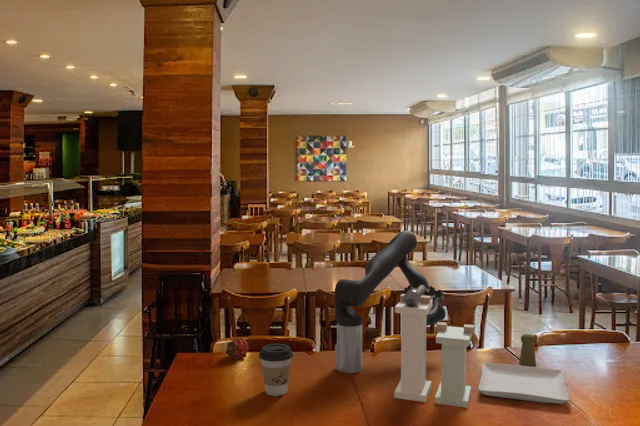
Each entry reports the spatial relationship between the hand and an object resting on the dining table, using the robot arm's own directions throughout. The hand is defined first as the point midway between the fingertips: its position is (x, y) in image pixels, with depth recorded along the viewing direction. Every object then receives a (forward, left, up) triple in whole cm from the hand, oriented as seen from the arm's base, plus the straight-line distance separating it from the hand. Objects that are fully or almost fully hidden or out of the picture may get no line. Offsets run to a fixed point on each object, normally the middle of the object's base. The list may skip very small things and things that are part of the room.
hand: (420, 288), depth 195 cm
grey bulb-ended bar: (0, -7, -3) cm, 7 cm away
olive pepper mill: (+36, +30, -33) cm, 57 cm away
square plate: (+34, +4, -33) cm, 48 cm away
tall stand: (0, -12, -33) cm, 35 cm away
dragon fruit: (-71, 0, -33) cm, 78 cm away
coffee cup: (-43, -26, -33) cm, 60 cm away
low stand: (+13, -12, -33) cm, 37 cm away
